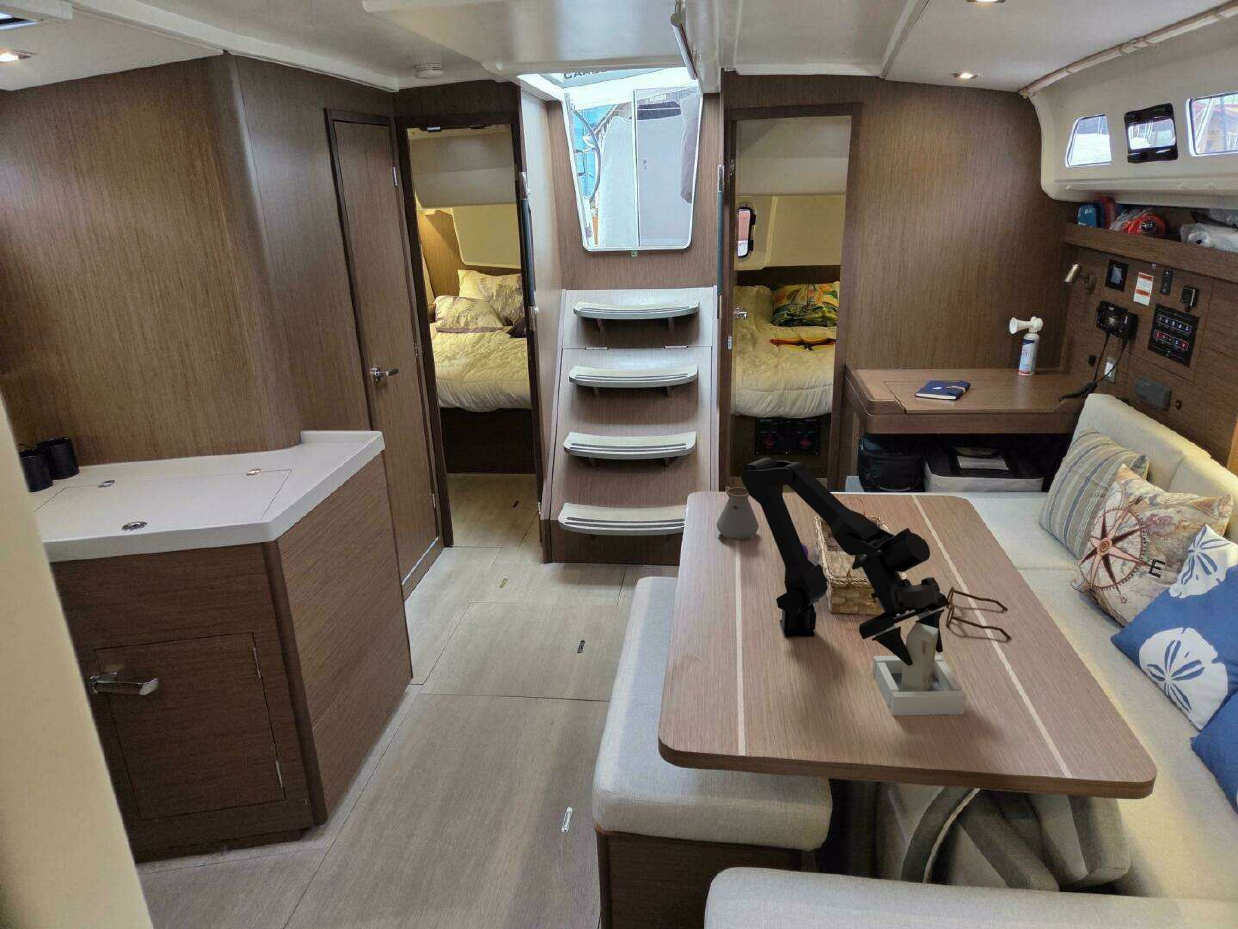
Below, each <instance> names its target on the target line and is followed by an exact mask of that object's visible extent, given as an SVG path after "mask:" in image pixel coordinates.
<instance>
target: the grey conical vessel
mask: <svg viewBox="0 0 1238 929" xmlns="http://www.w3.org/2000/svg"><path fill="white" fill-rule="evenodd" d="M725 493H726V495H727V496H728V500H727V502H726V504H725V505H724V508H723V510H722V512H721V513H720V516H719V517H718V520H717V522H716V528H717V530H718V531H719V533H720V534H721V535H723V537H724V538H726V539H727V540H731V541H736V542H737V541H739V542H741V541H746V540H749V539H751V538H752V537H753V536H754V535H755V534H756V533H757V532H758V530H759V527H760V525H759V522H758V519H757V517H756V514H755V512H754V511H753V507H752V505H751V503H750V501H749V496H750V495H749V493H748V492H747V490H746V488H745V487H739V486H738V487H737V486H736V487H734V486H733V487H731V488H728V489H726V490H725Z"/></svg>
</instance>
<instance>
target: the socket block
mask: <svg viewBox="0 0 1238 929" xmlns="http://www.w3.org/2000/svg"><path fill="white" fill-rule="evenodd" d="M903 663H904V662H903V661H902V660H901V659H899V658H898V657H897V656H896V655H874V656H873V659H872V666H871V667H872V668H871V675H872V677H873V676H874V677H873V678H874V679H875V680H874V681H875V683H876V685H877V687H878V689H879V691H880V693H881V695H882V697H883V700H884V701H885V703H886V706H887V707H888V709H889V711H890V713H891V716H936V715H937V714H939V716H941V715H940V714H949V715H964V714H965V709H966V702H967V694H966V693H965V692H964V690H962V686H961V685H960V684H959V682H958V680H957V679H956V677H955V676H954V675H953V673H952V671H951V669H950V668H949V667H948V665H947V663H946V662H945V661H944V659H943V657H942V656H941V655H940V654H935V660H934V667H933V675H932V683H931V686H930V688H929V690H928V691H926V692H900V688H901V680H902V672H903ZM929 714H931V715H929ZM935 714H936V715H935ZM937 716H938V715H937Z"/></svg>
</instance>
